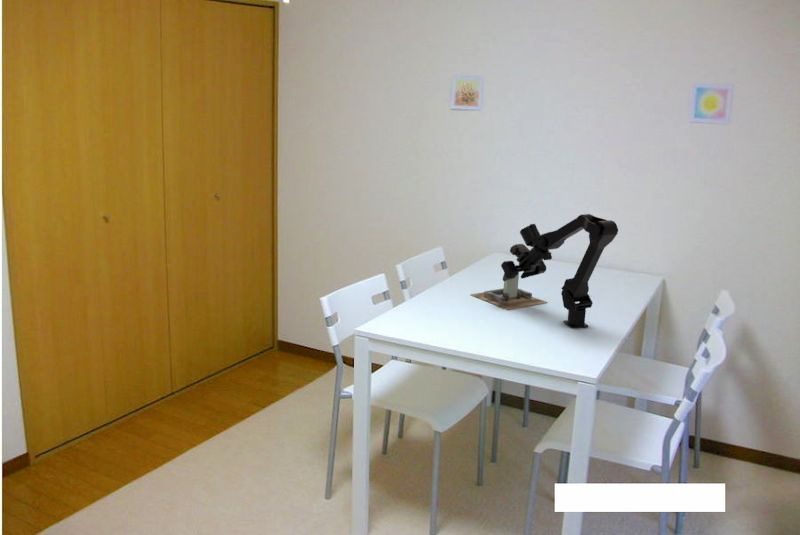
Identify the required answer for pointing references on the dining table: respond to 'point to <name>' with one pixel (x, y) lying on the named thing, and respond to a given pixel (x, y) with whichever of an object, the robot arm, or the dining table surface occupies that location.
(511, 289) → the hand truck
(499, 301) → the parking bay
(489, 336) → the dining table surface
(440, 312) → the dining table surface
